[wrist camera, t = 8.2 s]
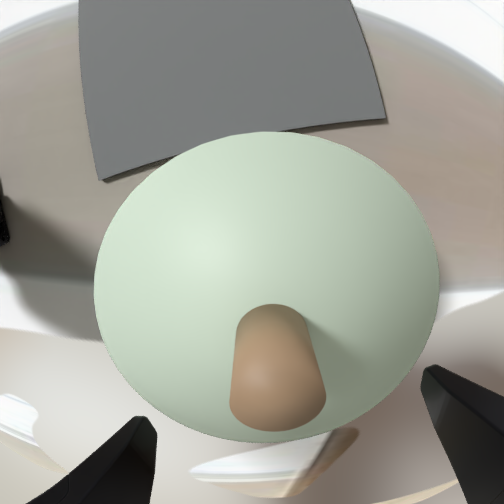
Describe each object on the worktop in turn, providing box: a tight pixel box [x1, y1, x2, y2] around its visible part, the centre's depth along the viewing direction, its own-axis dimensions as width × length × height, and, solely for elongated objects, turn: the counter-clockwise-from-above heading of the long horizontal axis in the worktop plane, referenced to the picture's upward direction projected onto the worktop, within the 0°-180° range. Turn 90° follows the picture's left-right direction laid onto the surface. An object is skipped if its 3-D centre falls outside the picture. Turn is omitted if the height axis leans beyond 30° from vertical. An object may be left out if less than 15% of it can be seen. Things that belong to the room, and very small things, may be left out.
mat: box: [79, 0, 386, 180], centre depth 14 cm, size 19×19×1 cm
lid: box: [94, 132, 439, 443], centre depth 10 cm, size 16×16×5 cm
